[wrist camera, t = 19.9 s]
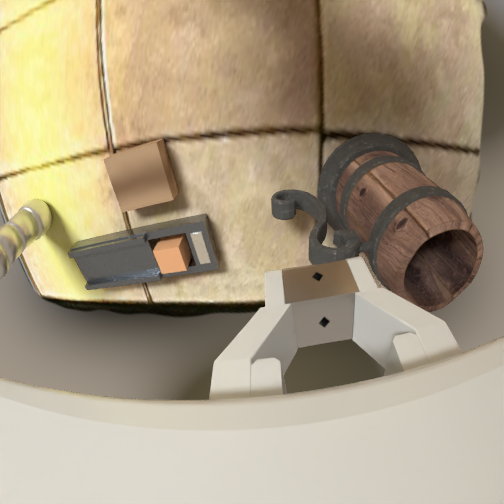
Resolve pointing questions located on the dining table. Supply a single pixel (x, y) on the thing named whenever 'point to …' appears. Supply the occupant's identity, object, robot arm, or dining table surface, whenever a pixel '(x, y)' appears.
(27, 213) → the plastic bottle
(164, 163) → the brown square plate
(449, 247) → the tankard
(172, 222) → the grey slotted tray
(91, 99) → the dining table surface
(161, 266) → the peach foam cube
